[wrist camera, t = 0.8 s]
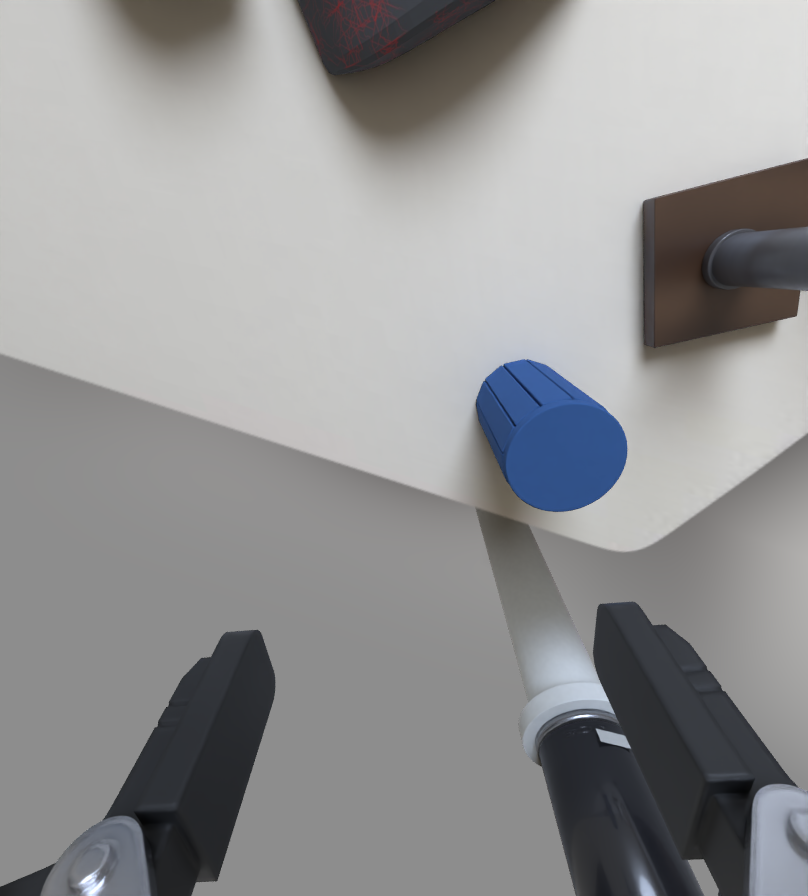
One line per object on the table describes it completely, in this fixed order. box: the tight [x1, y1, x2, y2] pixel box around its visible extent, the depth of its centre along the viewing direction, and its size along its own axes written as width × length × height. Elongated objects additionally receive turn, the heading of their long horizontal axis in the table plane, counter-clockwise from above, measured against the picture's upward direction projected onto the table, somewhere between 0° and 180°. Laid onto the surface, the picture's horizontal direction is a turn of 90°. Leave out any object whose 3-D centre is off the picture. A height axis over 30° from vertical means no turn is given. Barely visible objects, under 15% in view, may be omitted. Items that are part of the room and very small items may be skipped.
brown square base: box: [644, 158, 808, 348], centre depth 20 cm, size 8×8×8 cm
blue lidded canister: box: [476, 360, 627, 512], centre depth 24 cm, size 6×6×9 cm
